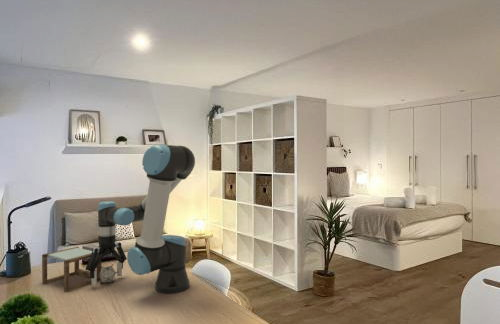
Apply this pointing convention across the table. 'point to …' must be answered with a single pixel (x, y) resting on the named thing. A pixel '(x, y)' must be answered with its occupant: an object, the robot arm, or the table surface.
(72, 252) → the chair seat
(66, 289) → the frame
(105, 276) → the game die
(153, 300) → the table surface
